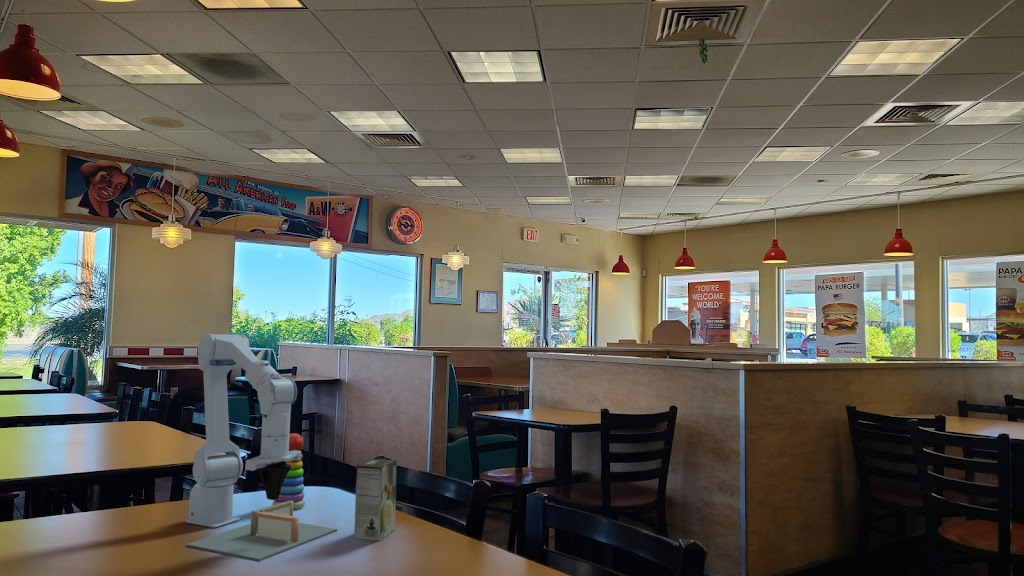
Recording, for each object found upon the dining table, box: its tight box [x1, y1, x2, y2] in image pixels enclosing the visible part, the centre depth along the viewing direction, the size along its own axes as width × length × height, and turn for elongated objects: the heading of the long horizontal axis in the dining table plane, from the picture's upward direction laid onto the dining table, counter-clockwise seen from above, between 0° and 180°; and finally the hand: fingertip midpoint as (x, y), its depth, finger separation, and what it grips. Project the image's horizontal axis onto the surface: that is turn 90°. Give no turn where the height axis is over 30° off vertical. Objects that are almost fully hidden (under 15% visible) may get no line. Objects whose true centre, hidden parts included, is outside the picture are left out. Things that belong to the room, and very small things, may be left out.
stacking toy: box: [271, 432, 306, 511], centre depth 182 cm, size 8×8×19 cm
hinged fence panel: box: [257, 512, 300, 541], centre depth 153 cm, size 10×2×5 cm, turn 68°
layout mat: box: [186, 522, 338, 562], centre depth 154 cm, size 20×24×1 cm
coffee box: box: [353, 458, 398, 542], centre depth 160 cm, size 9×6×16 cm
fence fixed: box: [250, 501, 294, 536], centre depth 161 cm, size 2×12×5 cm, turn 156°
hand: (272, 498), depth 151 cm, fingers closed
